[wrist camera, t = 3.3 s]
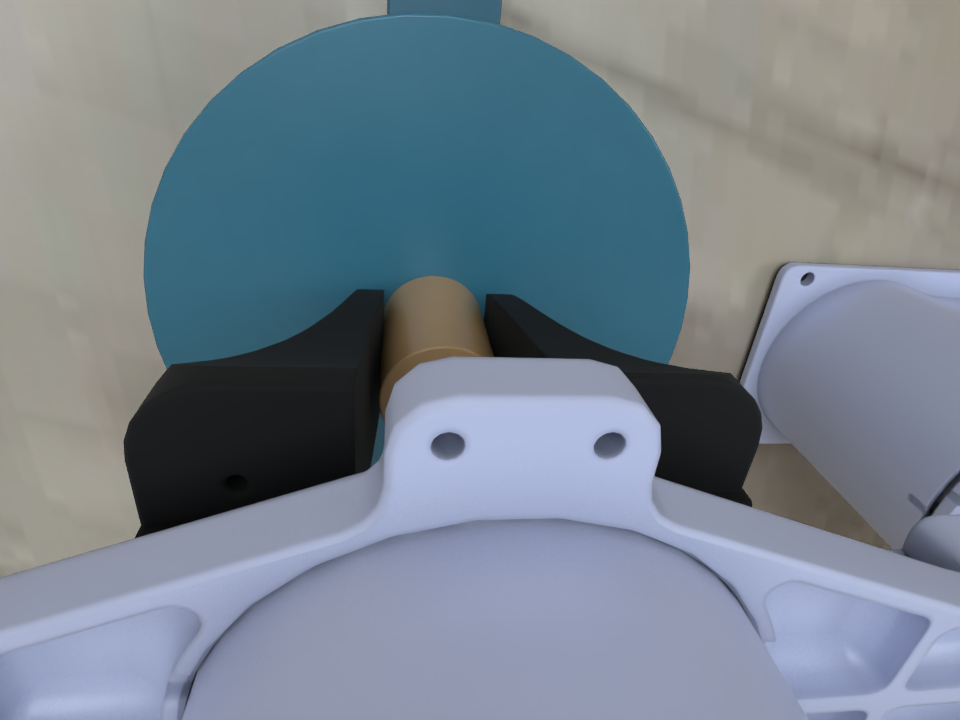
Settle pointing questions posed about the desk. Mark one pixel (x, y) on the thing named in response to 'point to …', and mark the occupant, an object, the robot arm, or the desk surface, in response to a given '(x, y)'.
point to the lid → (415, 199)
